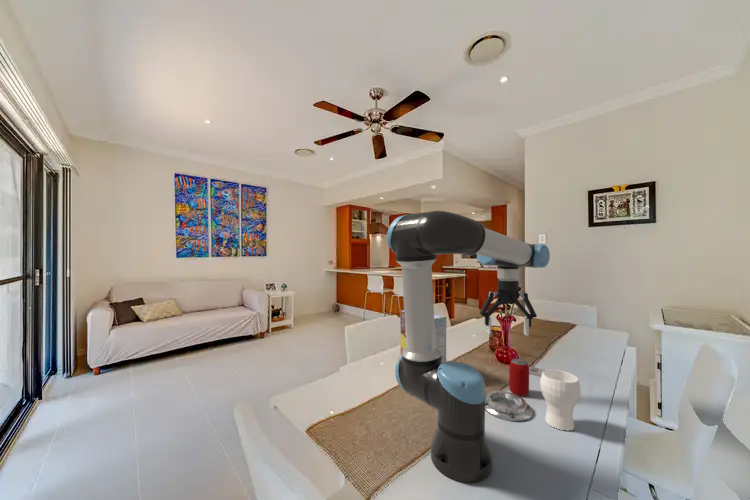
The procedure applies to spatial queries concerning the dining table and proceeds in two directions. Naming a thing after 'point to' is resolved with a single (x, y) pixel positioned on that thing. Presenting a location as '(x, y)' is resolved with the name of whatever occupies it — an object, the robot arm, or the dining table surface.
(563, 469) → the dining table surface
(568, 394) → the cup
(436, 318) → the snack box
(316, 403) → the dining table surface
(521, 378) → the beverage can
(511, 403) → the flange
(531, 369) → the remote control
